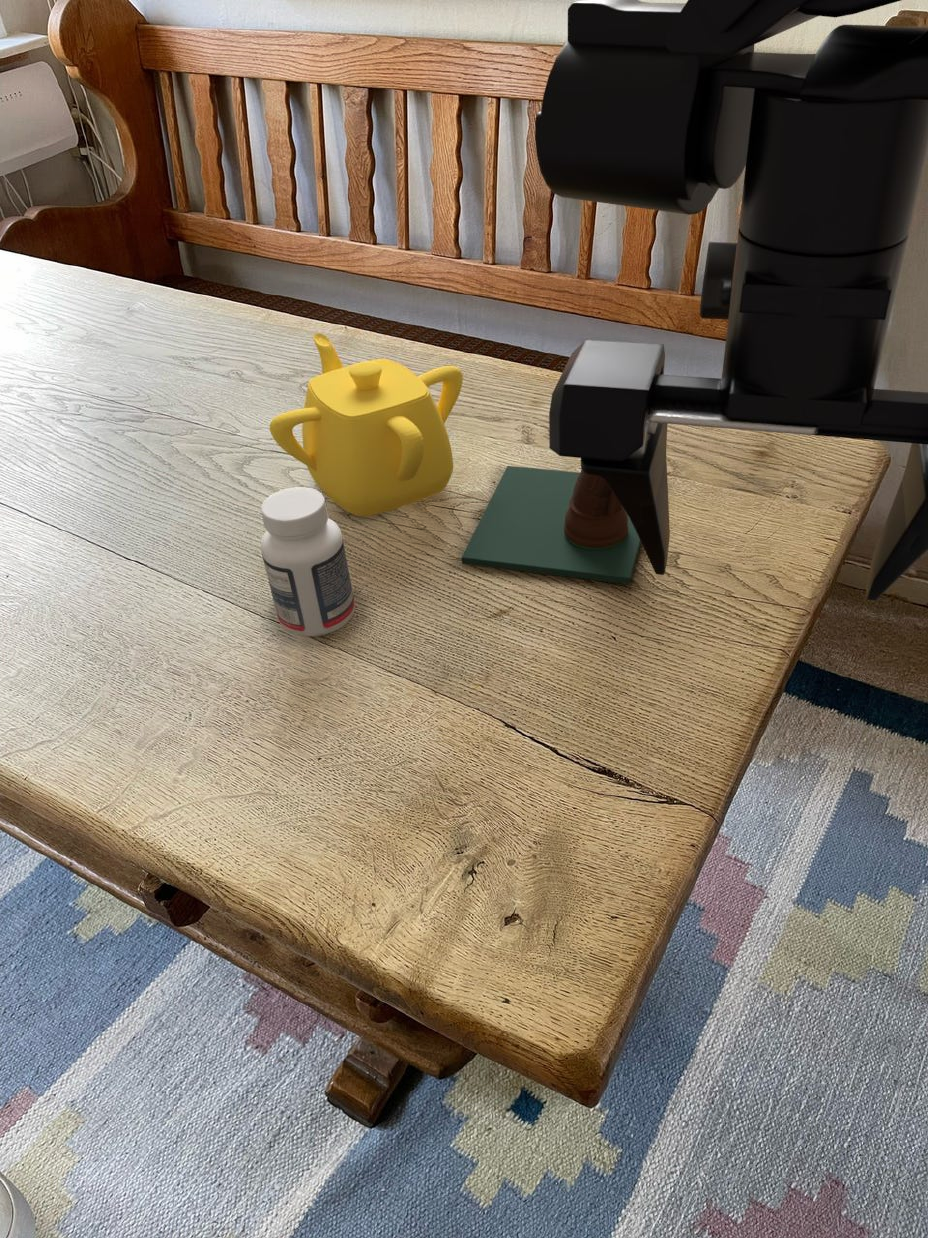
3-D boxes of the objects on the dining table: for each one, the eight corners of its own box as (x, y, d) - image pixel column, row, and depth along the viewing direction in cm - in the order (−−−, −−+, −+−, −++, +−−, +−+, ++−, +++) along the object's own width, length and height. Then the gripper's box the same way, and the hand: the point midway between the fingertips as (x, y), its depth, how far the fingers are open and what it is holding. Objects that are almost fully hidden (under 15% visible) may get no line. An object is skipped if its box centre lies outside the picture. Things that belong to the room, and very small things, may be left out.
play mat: (656, 486, 75) (656, 479, 75) (629, 585, 65) (630, 577, 65) (507, 471, 78) (507, 465, 78) (461, 564, 69) (460, 557, 68)
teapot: (263, 515, 75) (235, 395, 69) (333, 437, 84) (314, 324, 78) (426, 540, 71) (412, 414, 65) (481, 454, 80) (474, 337, 74)
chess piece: (605, 508, 72) (609, 384, 66) (644, 541, 68) (653, 413, 62) (552, 526, 70) (551, 401, 64) (589, 561, 67) (592, 432, 60)
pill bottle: (355, 586, 67) (336, 476, 62) (356, 634, 63) (336, 521, 58) (279, 595, 67) (254, 485, 61) (276, 643, 63) (248, 530, 57)
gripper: (1076, 169, 37) (969, 508, 47) (601, 164, 42) (593, 472, 52) (1142, 270, 29) (996, 654, 39) (544, 250, 34) (547, 596, 44)
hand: (763, 581), depth 44 cm, fingers open, 9 cm apart
